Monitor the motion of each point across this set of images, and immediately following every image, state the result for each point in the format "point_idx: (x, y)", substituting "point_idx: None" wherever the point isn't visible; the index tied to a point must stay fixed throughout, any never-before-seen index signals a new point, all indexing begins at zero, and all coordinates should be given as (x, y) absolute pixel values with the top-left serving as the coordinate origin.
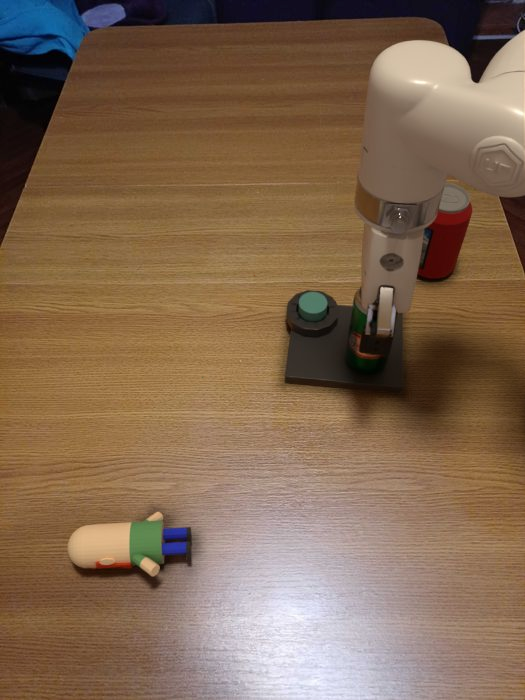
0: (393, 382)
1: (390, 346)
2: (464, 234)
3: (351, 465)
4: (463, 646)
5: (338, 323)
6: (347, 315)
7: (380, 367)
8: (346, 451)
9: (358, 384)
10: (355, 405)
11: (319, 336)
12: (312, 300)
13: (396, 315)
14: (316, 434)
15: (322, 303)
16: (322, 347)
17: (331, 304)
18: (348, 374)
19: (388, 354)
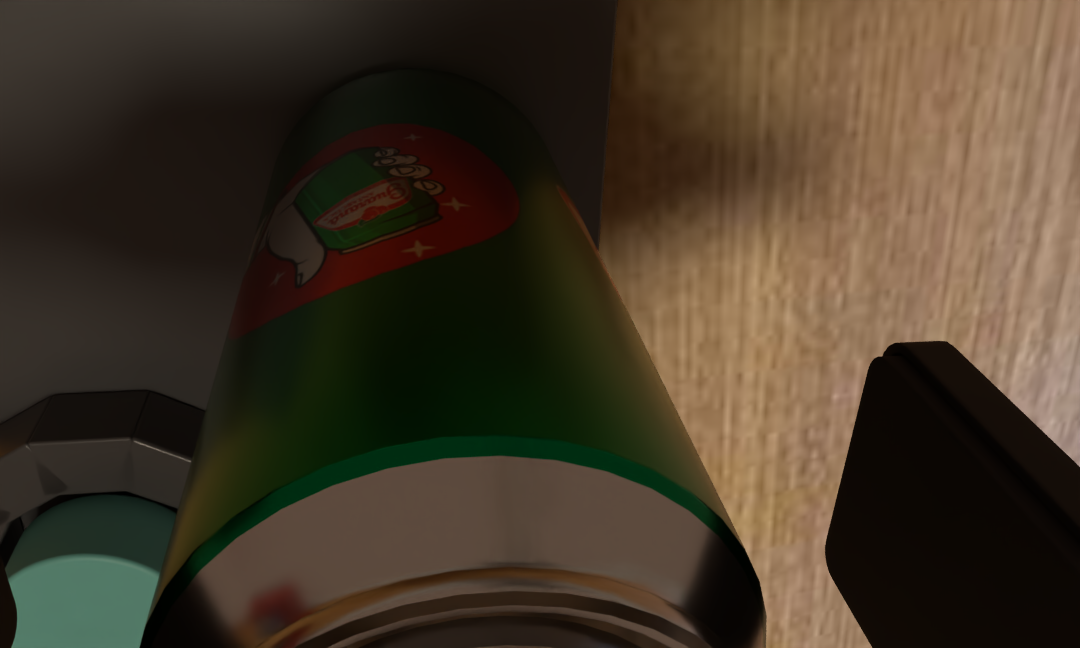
0: (582, 10)
1: (1014, 415)
2: None
3: (1030, 208)
4: None
5: (135, 383)
6: (40, 336)
7: (537, 138)
8: (954, 236)
9: (598, 227)
10: (689, 209)
11: None
12: (78, 638)
13: (645, 434)
14: (848, 374)
15: (85, 583)
16: None
17: (24, 485)
18: None
19: (937, 341)
